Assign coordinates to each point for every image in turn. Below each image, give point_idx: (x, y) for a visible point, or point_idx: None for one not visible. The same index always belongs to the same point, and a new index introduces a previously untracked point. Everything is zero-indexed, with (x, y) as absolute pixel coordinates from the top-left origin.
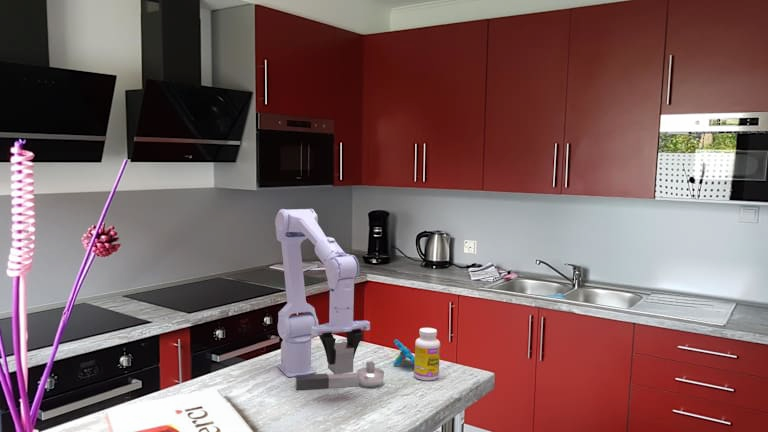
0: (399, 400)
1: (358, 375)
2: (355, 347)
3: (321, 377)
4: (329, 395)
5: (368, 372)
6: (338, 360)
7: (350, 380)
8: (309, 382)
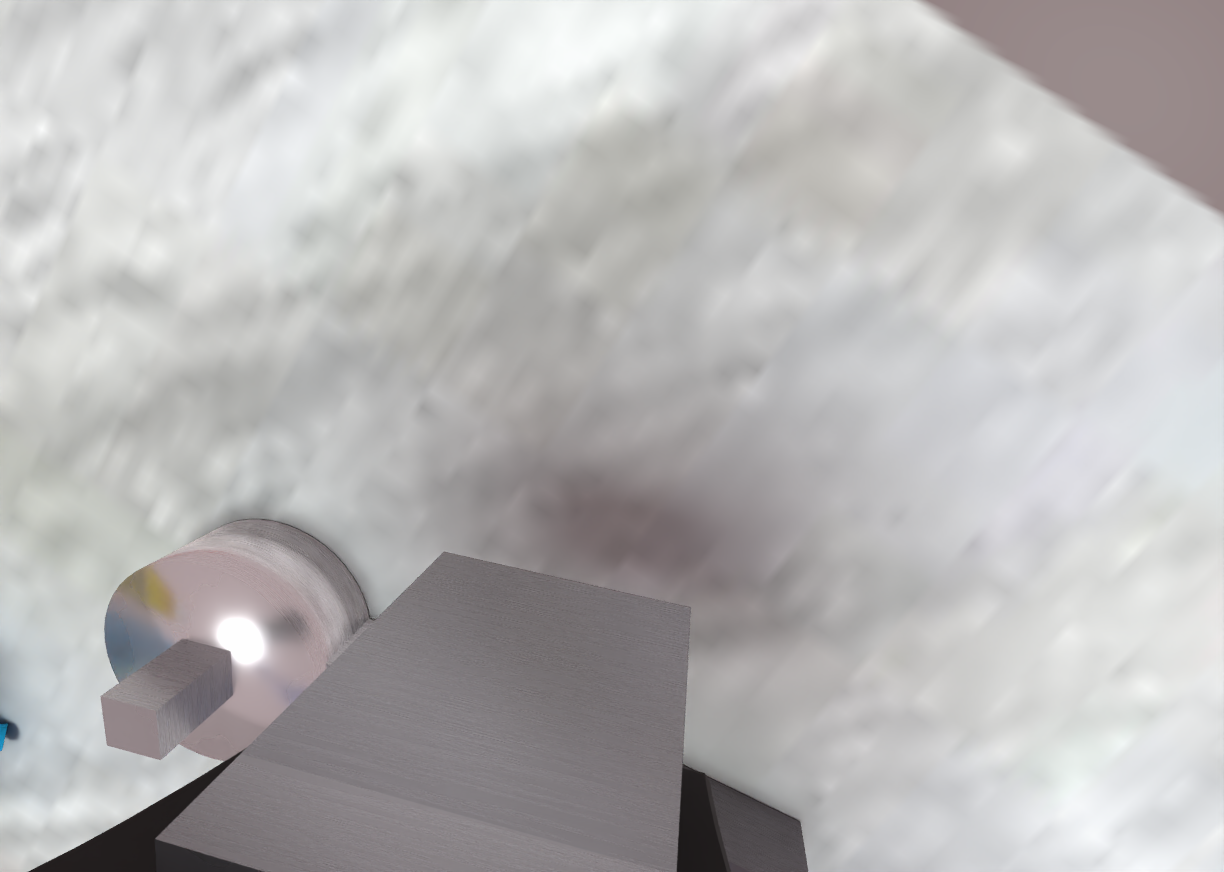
0: (223, 217)
1: None
2: (113, 861)
3: None
4: None
5: (227, 661)
6: (627, 736)
7: None
8: None
